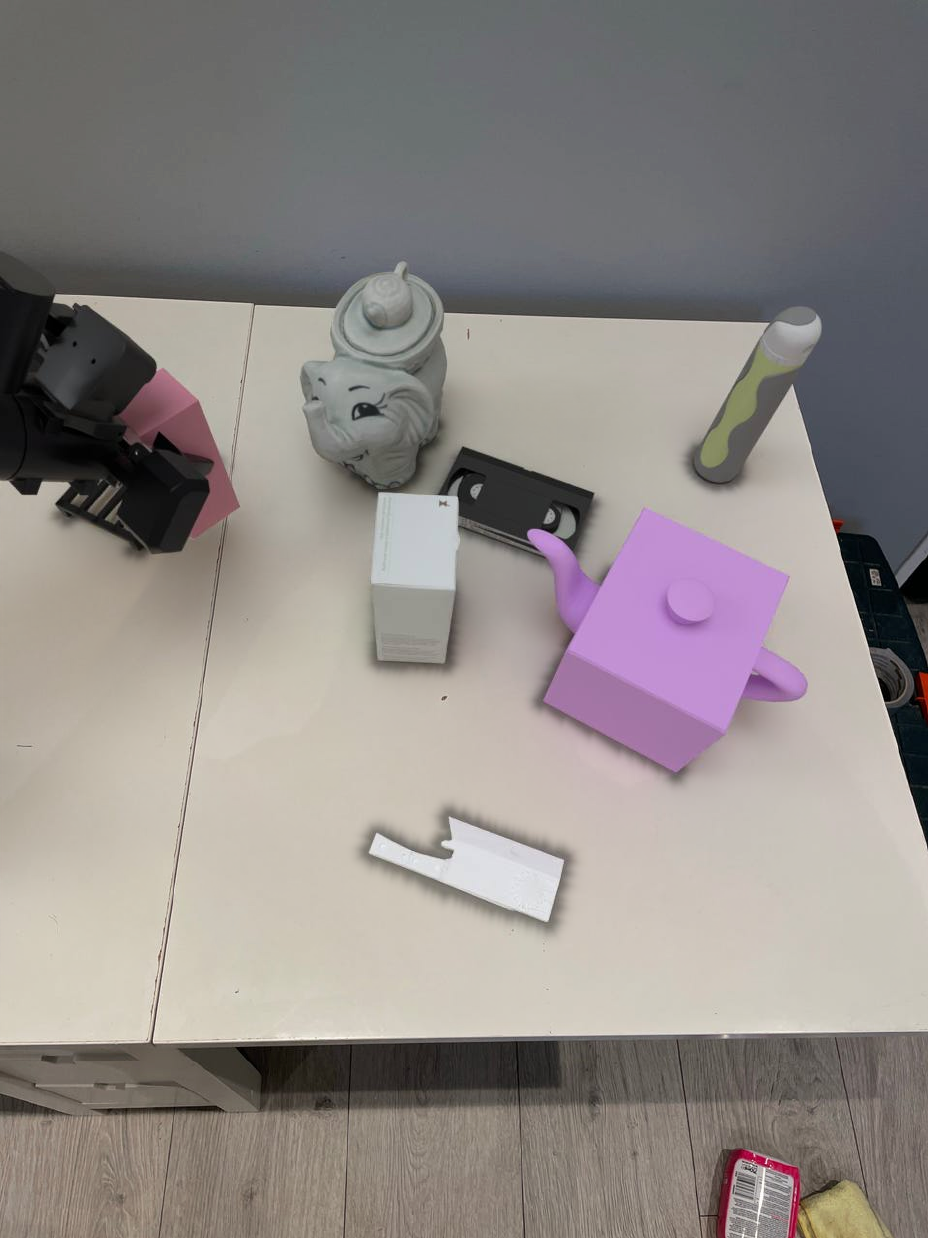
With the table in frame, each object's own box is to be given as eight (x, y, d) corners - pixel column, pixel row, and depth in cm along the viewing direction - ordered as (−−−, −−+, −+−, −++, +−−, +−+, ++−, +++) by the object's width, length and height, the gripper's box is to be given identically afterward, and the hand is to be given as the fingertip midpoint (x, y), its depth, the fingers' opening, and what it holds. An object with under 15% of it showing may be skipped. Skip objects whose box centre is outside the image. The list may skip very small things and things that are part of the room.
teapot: (546, 541, 73) (572, 451, 60) (783, 659, 69) (865, 589, 56) (472, 663, 67) (485, 592, 54) (728, 801, 63) (806, 758, 50)
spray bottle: (711, 492, 77) (800, 345, 59) (682, 458, 78) (761, 306, 60) (746, 474, 78) (844, 325, 60) (717, 441, 80) (804, 287, 62)
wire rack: (139, 551, 70) (133, 542, 68) (62, 514, 71) (54, 503, 70) (212, 462, 75) (208, 450, 73) (139, 428, 76) (133, 416, 75)
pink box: (193, 539, 63) (139, 436, 51) (163, 509, 64) (103, 401, 53) (240, 506, 65) (198, 399, 53) (210, 477, 66) (163, 367, 54)
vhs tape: (432, 516, 74) (432, 505, 72) (461, 458, 77) (462, 446, 75) (566, 565, 72) (570, 555, 70) (590, 504, 75) (594, 492, 73)
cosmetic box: (383, 583, 70) (375, 485, 56) (453, 587, 70) (461, 490, 56) (376, 665, 66) (365, 582, 52) (449, 668, 67) (457, 587, 53)
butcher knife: (393, 795, 61) (392, 792, 60) (564, 861, 60) (566, 859, 59) (368, 854, 59) (368, 852, 58) (545, 924, 58) (548, 923, 57)
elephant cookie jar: (335, 537, 72) (309, 403, 55) (276, 427, 77) (236, 274, 60) (482, 476, 76) (500, 334, 59) (416, 376, 81) (415, 219, 64)
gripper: (136, 405, 40) (316, 430, 53) (-51, 231, 45) (158, 295, 58) (69, 567, 44) (252, 551, 58) (-94, 392, 49) (110, 416, 63)
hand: (193, 449), depth 59 cm, fingers closed on pink box, 4 cm apart
